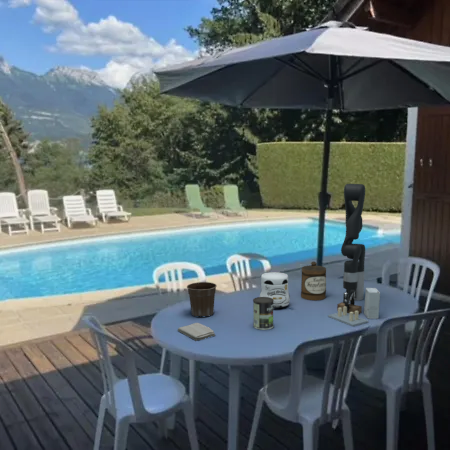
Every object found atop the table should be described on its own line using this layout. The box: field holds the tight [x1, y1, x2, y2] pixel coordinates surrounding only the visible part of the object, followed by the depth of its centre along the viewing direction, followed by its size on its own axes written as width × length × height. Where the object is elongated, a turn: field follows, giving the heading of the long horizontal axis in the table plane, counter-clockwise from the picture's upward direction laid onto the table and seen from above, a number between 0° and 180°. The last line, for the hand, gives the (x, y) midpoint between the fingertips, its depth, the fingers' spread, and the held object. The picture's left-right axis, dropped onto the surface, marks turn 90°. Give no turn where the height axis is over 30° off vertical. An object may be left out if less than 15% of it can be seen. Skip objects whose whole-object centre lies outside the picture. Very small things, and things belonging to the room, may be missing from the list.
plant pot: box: [186, 281, 217, 317], centre depth 269 cm, size 16×16×16 cm
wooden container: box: [300, 261, 327, 301], centre depth 297 cm, size 15×15×22 cm
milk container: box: [259, 271, 291, 309], centre depth 282 cm, size 17×17×18 cm
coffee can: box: [252, 296, 274, 331], centre depth 249 cm, size 10×10×14 cm
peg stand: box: [327, 306, 369, 327], centre depth 258 cm, size 18×11×6 cm, turn 31°
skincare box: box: [363, 287, 381, 320], centre depth 261 cm, size 8×6×15 cm
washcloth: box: [177, 322, 216, 342], centre depth 242 cm, size 12×18×3 cm, turn 37°
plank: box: [337, 301, 363, 316], centre depth 271 cm, size 12×5×4 cm, turn 47°
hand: (349, 308), depth 270 cm, fingers open, 8 cm apart
